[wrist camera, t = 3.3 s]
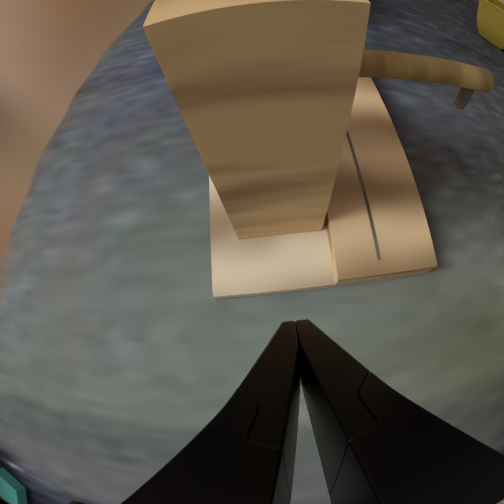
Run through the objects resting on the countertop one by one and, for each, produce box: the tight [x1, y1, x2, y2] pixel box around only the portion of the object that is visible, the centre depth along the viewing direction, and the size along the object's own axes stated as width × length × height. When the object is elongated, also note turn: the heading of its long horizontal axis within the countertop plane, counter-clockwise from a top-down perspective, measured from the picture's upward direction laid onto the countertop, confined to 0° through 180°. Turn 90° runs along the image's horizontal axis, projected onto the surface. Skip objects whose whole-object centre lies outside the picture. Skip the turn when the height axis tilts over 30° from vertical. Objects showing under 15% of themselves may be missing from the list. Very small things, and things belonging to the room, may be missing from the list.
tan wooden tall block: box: [143, 0, 494, 240], centre depth 14 cm, size 7×16×18 cm, turn 94°
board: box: [209, 77, 437, 299], centre depth 24 cm, size 24×16×2 cm, turn 4°
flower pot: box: [477, 0, 504, 50], centre depth 25 cm, size 9×9×9 cm
